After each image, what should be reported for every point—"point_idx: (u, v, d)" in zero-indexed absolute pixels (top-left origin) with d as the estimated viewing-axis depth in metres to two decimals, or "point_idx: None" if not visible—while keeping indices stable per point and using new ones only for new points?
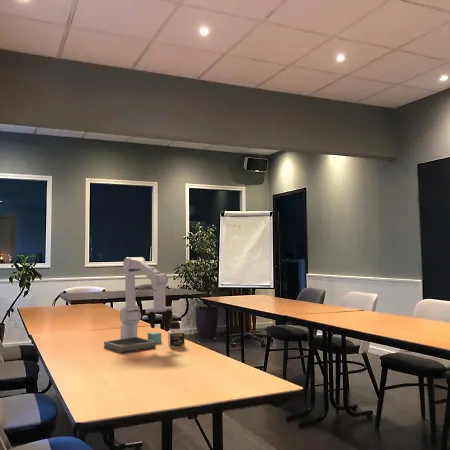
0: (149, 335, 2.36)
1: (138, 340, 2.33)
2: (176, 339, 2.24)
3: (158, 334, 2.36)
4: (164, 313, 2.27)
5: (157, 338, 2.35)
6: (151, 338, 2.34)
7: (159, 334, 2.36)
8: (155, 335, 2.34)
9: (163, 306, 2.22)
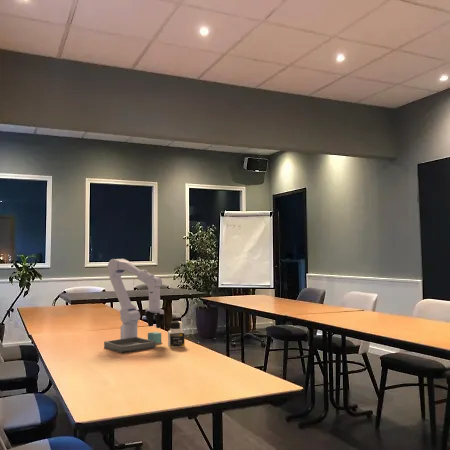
0: (149, 335, 2.36)
1: (138, 340, 2.33)
2: (176, 339, 2.24)
3: (158, 334, 2.36)
4: None
5: (157, 338, 2.35)
6: (151, 338, 2.34)
7: (159, 334, 2.36)
8: (155, 335, 2.34)
9: (150, 307, 2.36)
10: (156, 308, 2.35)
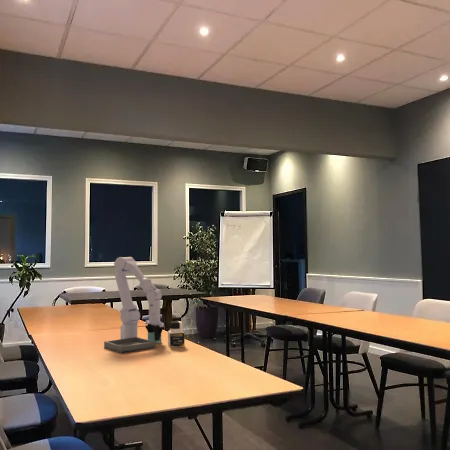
0: (149, 335, 2.36)
1: (138, 340, 2.33)
2: (176, 339, 2.24)
3: None
4: None
5: None
6: (151, 338, 2.34)
7: None
8: None
9: (150, 320, 2.35)
10: (156, 321, 2.35)
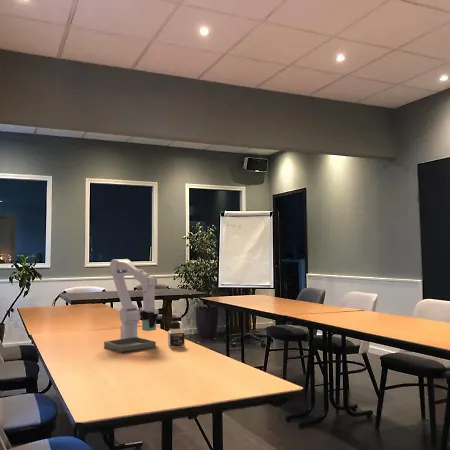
0: (144, 322, 2.33)
1: (138, 340, 2.33)
2: (176, 339, 2.24)
3: None
4: None
5: None
6: (146, 325, 2.32)
7: None
8: None
9: (144, 307, 2.33)
10: (150, 308, 2.32)
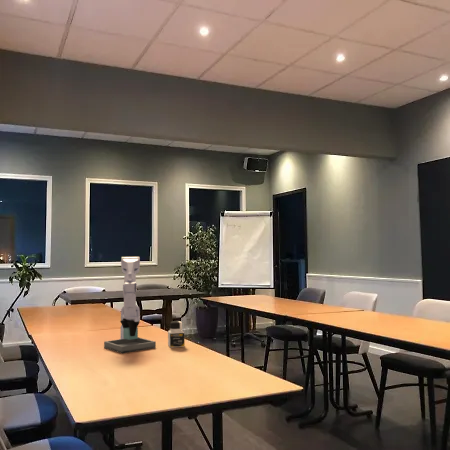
0: (125, 330, 2.24)
1: (138, 340, 2.33)
2: (176, 339, 2.24)
3: None
4: None
5: None
6: (127, 333, 2.22)
7: None
8: None
9: (125, 315, 2.23)
10: (131, 315, 2.23)
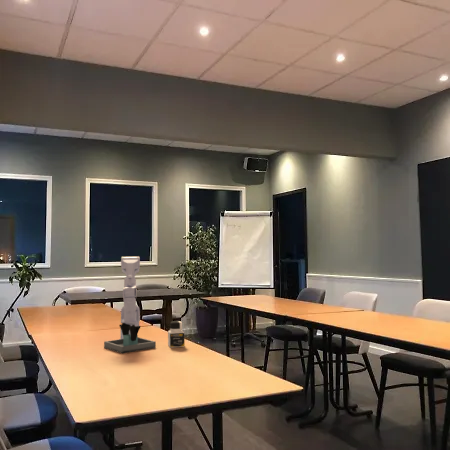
0: (125, 338, 2.24)
1: (138, 340, 2.33)
2: (176, 339, 2.24)
3: None
4: None
5: (133, 341, 2.23)
6: (127, 341, 2.22)
7: None
8: None
9: (125, 319, 2.23)
10: (131, 320, 2.22)
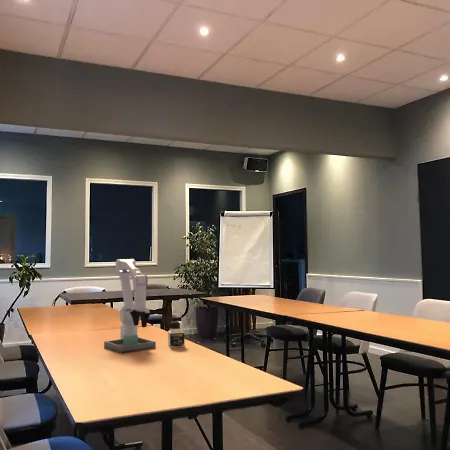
0: (125, 338, 2.24)
1: (138, 340, 2.33)
2: (176, 339, 2.24)
3: (134, 336, 2.23)
4: None
5: (133, 341, 2.23)
6: (127, 341, 2.22)
7: (135, 336, 2.24)
8: (131, 338, 2.22)
9: (135, 306, 2.29)
10: (141, 307, 2.29)
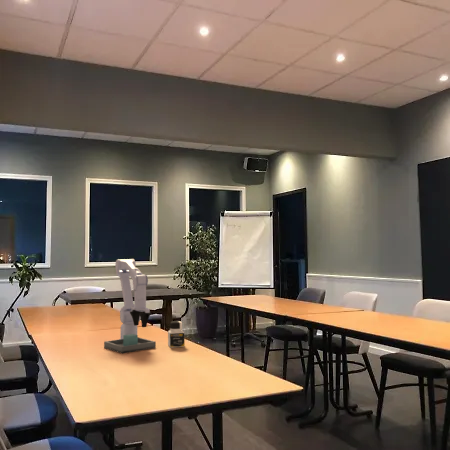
0: (125, 338, 2.24)
1: (138, 340, 2.33)
2: (176, 339, 2.24)
3: (134, 336, 2.23)
4: None
5: (133, 341, 2.23)
6: (127, 341, 2.22)
7: (135, 336, 2.24)
8: (131, 338, 2.22)
9: (135, 306, 2.29)
10: (142, 307, 2.29)
